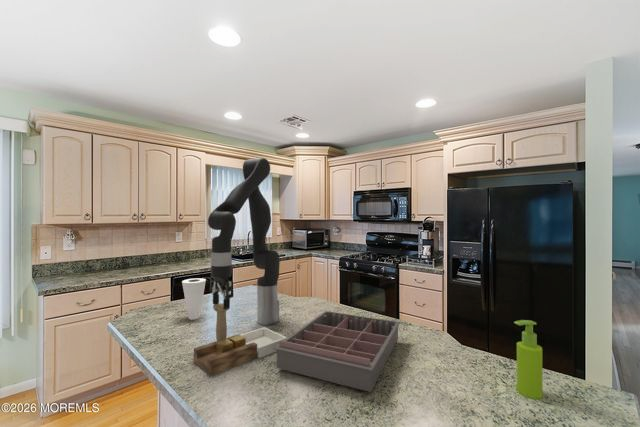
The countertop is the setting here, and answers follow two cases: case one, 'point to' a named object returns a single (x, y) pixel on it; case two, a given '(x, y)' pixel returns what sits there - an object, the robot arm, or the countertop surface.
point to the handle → (220, 321)
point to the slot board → (223, 357)
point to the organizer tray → (340, 349)
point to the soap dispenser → (529, 362)
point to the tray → (264, 340)
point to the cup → (193, 296)
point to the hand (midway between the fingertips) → (221, 306)
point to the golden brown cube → (238, 341)
